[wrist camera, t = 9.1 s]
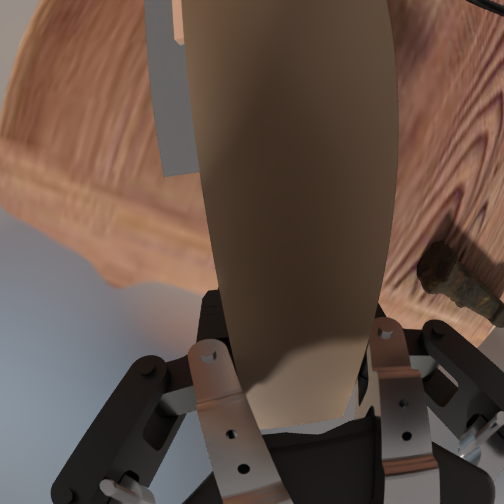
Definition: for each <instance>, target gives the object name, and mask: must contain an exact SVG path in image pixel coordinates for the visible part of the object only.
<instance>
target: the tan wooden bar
mask: <svg viewBox="0 0 504 504" xmlns="http://www.w3.org/2000/svg"><path fill="white" fill-rule="evenodd" d="M181 6H182V20H183V33H184V45H185V55H186V66H187V76H188V85H189V94H190V103H191V111H192V119H193V127H194V135H195V143H196V150H197V157H198V164H199V171H200V178H201V185H202V191H203V198H204V204H205V210H206V216H207V223H208V229H209V234H210V240H211V246H212V252H213V257H214V263H215V268H216V274H217V279H218V285H219V290H220V295H221V300H222V305H223V310H224V315H225V320H226V325H227V330H228V335H229V340H230V344H231V349H232V354H233V358H234V363H235V367H236V372H237V376H238V380H239V383H240V385H241V388H242V390H243V392H244V393H245V395H246V397H247V399H248V402H249V405H250V407H251V410H252V412H253V415H254V417H255V420H256V422H257V425H258V427H259V429H269V428H279V427H287V426H295V425H302V424H308V423H314V422H320V421H325V420H331V419H336V418H340V417H343V415H344V412H345V410H346V407H347V404H348V402H349V398H350V396H351V393H352V391H353V388H354V385H355V382H356V379H357V376H358V373H359V370H360V367H361V364H362V360H363V357H364V354H365V350H366V347H367V343H368V340H369V336H370V333H371V329H372V325H373V321H374V317H375V313H376V309H377V305H378V300H379V296H380V291H381V287H382V282H383V277H384V271H385V266H386V261H387V255H388V249H389V242H390V235H391V228H392V221H393V212H394V203H395V193H396V181H397V165H398V137H399V112H398V85H397V71H396V59H395V50H394V41H393V34H392V27H391V21H390V15H389V10H388V4H387V0H181Z"/></svg>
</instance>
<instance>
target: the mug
mask: <svg viewBox="0 0 504 504" xmlns="http://www.w3.org/2000/svg"><path fill="white" fill-rule="evenodd" d="M466 1H468V2H470V3H472V4H474V5H476V6H479V7H481V8H483V9H486V10H489V11H491V12H494V13H496V14H499V15H501V16H503V17H504V6H503V5H500V4H498V3H495V2H493V1H491V0H466Z"/></svg>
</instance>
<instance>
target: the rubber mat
mask: <svg viewBox="0 0 504 504" xmlns="http://www.w3.org/2000/svg"><path fill="white" fill-rule="evenodd" d="M144 1H145V26H146V42H147V55H148V66H149V77H150V86H151V95H152V103H153V111H154V118H155V125H156V132H157V139H158V145H159V151H160V157H161V163H162V169H163V175H164V177H168V176H175V175H181V174H188V173H195V172H200V171H199V164H198V157H197V150H196V143H195V135H194V127H193V119H192V111H191V103H190V94H189V85H188V76H187V66H186V55H185V45H181V46H180V45H179V44H178V43H177V42H176V41H175V39H174V25H173V10H172V0H144Z"/></svg>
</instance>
